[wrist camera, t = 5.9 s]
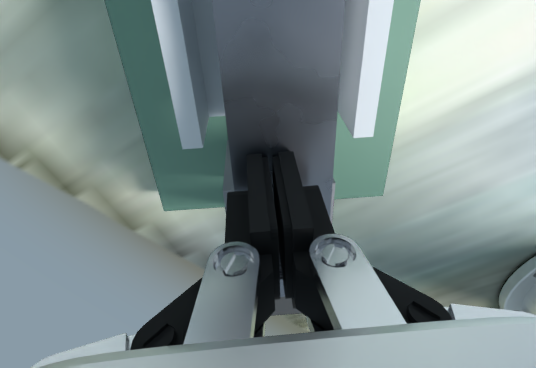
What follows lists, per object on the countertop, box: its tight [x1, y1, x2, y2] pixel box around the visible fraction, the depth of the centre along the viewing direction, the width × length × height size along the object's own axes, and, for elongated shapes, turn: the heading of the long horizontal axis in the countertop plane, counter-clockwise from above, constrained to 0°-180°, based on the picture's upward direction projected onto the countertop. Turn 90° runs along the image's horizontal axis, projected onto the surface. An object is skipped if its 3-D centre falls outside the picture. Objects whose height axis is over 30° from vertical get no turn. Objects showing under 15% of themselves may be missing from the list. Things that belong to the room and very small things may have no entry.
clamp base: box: [104, 0, 421, 315], centre depth 13 cm, size 22×14×10 cm, turn 2°
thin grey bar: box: [212, 0, 345, 297], centre depth 9 cm, size 19×4×3 cm, turn 2°
